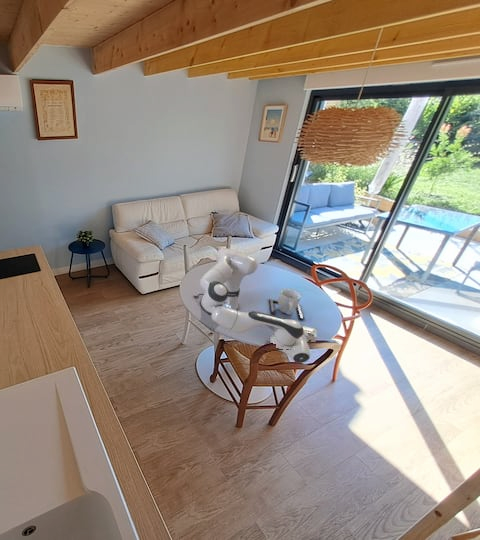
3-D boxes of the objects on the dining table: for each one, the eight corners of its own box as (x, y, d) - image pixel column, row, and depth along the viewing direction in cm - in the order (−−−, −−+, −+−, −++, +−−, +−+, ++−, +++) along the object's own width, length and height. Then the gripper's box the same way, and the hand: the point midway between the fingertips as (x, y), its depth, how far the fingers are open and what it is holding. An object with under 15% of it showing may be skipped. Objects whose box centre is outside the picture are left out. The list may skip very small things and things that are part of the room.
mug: (297, 321, 174) (304, 304, 167) (277, 318, 177) (283, 300, 170) (292, 307, 186) (298, 290, 180) (274, 304, 189) (279, 287, 183)
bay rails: (271, 313, 180) (271, 312, 180) (269, 300, 193) (270, 298, 192) (302, 319, 175) (303, 318, 174) (298, 305, 187) (299, 304, 187)
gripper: (273, 337, 156) (271, 321, 167) (316, 346, 150) (311, 329, 161) (276, 328, 153) (274, 313, 164) (320, 337, 147) (315, 321, 158)
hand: (293, 321), depth 163 cm, fingers closed
